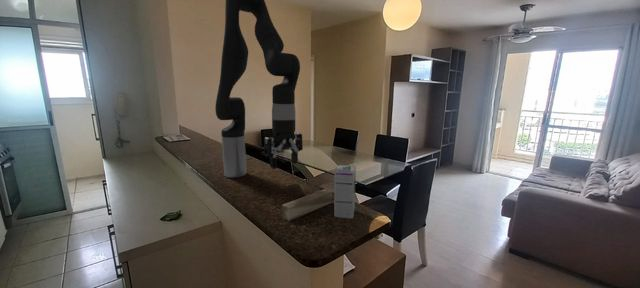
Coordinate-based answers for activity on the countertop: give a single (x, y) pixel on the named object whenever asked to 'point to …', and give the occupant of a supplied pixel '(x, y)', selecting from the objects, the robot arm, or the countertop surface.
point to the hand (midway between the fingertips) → (284, 165)
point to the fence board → (306, 204)
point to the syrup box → (344, 191)
